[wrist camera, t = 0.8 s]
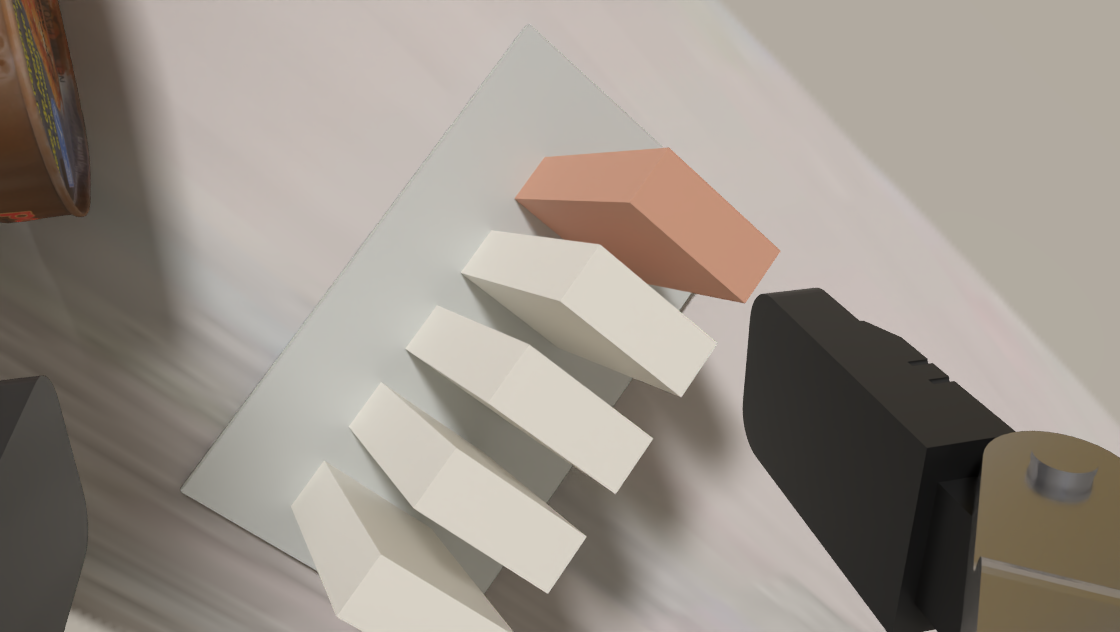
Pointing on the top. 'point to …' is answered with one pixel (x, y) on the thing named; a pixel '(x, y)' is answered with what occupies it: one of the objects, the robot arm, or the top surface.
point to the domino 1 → (385, 563)
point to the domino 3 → (591, 307)
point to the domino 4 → (532, 395)
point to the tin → (39, 117)
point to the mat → (421, 312)
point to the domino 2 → (651, 220)
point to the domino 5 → (465, 489)
